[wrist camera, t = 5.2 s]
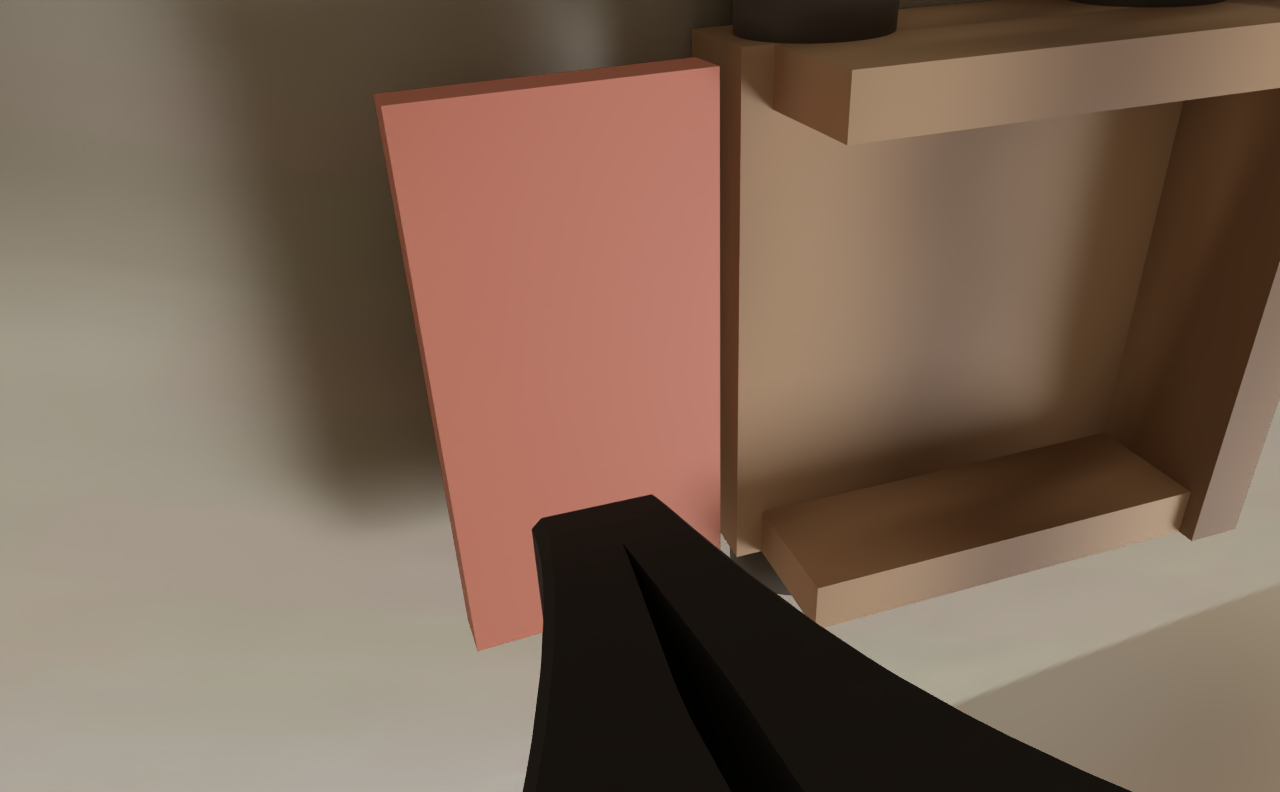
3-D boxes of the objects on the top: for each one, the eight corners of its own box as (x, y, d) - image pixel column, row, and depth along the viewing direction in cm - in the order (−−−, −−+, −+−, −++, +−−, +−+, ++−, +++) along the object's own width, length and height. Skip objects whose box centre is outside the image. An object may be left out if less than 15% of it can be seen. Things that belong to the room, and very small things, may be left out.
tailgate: (719, 66, 12) (380, 105, 11) (720, 580, 17) (477, 651, 15) (687, 54, 13) (370, 89, 12) (695, 544, 17) (465, 609, 16)
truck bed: (1175, -79, 16) (1438, -68, 12) (1061, 450, 22) (1220, 570, 18) (690, -42, 14) (831, -16, 10) (699, 536, 19) (793, 692, 16)
